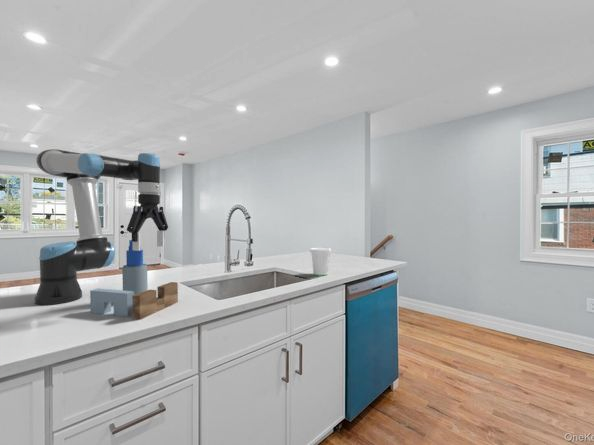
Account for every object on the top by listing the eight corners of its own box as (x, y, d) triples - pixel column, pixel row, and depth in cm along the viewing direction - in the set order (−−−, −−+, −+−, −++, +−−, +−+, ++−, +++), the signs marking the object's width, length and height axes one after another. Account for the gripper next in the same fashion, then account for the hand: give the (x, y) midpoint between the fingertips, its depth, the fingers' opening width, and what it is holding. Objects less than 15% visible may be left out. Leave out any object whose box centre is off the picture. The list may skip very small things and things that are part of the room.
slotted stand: (132, 318, 99) (132, 295, 99) (171, 301, 118) (171, 282, 118) (140, 319, 98) (139, 296, 98) (177, 302, 118) (177, 282, 117)
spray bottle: (138, 296, 126) (137, 238, 125) (152, 298, 122) (151, 239, 121) (117, 301, 118) (116, 240, 117) (132, 304, 114) (131, 241, 113)
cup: (332, 276, 166) (332, 250, 166) (310, 276, 166) (310, 249, 166) (329, 272, 179) (330, 247, 178) (309, 272, 179) (309, 247, 178)
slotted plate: (90, 312, 105) (90, 290, 105) (98, 309, 108) (97, 288, 108) (127, 316, 101) (127, 293, 101) (134, 313, 104) (134, 291, 104)
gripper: (133, 191, 101) (133, 252, 102) (177, 195, 125) (176, 245, 126) (115, 191, 102) (115, 252, 103) (161, 195, 127) (161, 244, 127)
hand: (149, 248), depth 114 cm, fingers open, 13 cm apart
